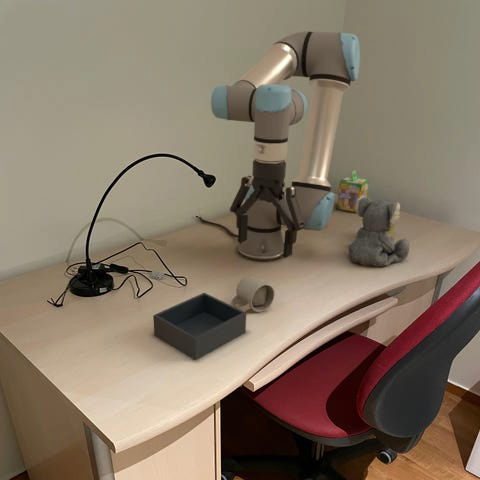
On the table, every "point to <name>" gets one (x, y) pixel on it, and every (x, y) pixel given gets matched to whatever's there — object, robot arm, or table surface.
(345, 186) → the chalk box
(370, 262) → the koala plush
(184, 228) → the table surface
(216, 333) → the bin
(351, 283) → the table surface
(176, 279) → the table surface
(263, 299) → the ceramic mug
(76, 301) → the table surface
